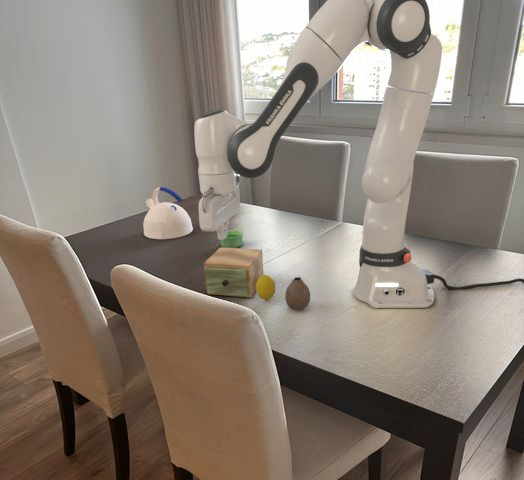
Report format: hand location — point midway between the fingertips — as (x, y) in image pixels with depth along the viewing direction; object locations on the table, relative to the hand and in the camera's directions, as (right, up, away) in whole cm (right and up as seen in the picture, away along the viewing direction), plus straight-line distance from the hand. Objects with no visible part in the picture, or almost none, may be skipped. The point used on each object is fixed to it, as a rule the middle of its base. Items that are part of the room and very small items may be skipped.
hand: (223, 238), depth 128 cm
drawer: (+1, -10, +21) cm, 23 cm away
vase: (+20, -18, +9) cm, 28 cm away
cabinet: (+2, -10, +24) cm, 26 cm away
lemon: (+11, -15, +14) cm, 24 cm away
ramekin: (-1, +10, +57) cm, 58 cm away
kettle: (-29, +20, +75) cm, 82 cm away
